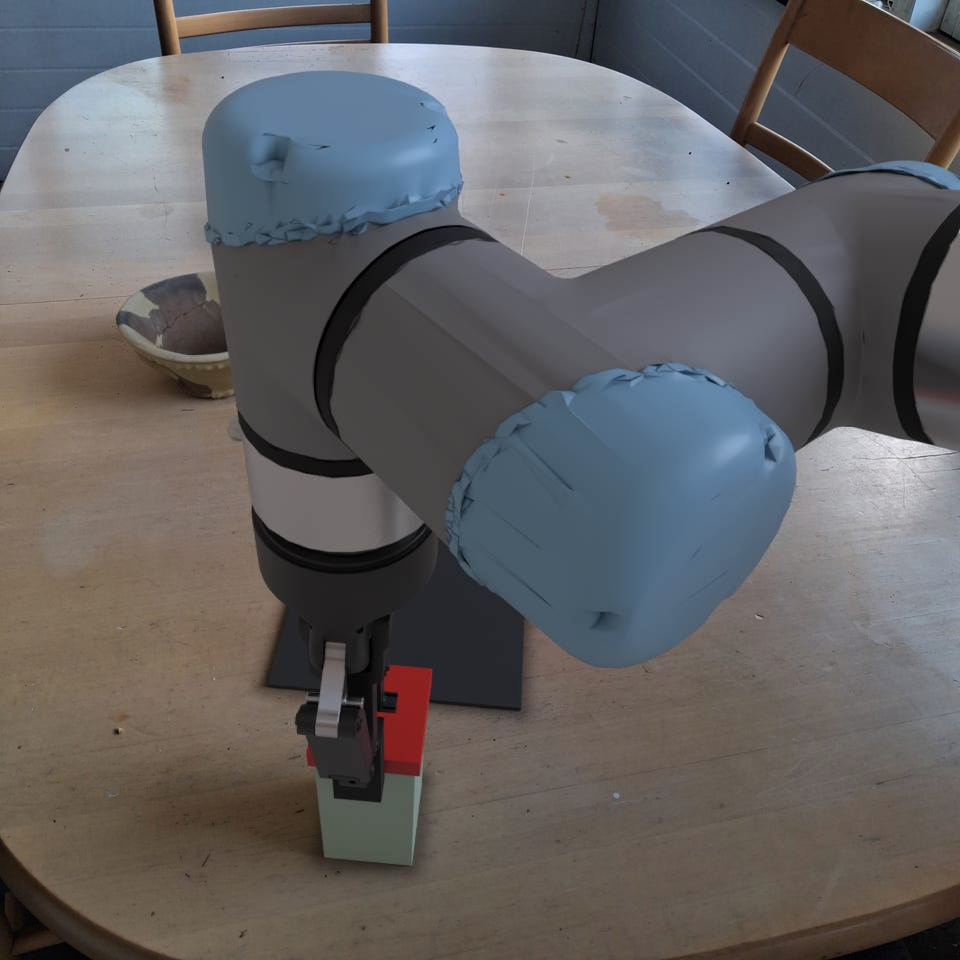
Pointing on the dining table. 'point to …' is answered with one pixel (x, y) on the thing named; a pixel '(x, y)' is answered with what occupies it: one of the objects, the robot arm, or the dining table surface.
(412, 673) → the container
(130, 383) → the dining table surface
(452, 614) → the mat
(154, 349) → the bowl
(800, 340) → the robot arm
